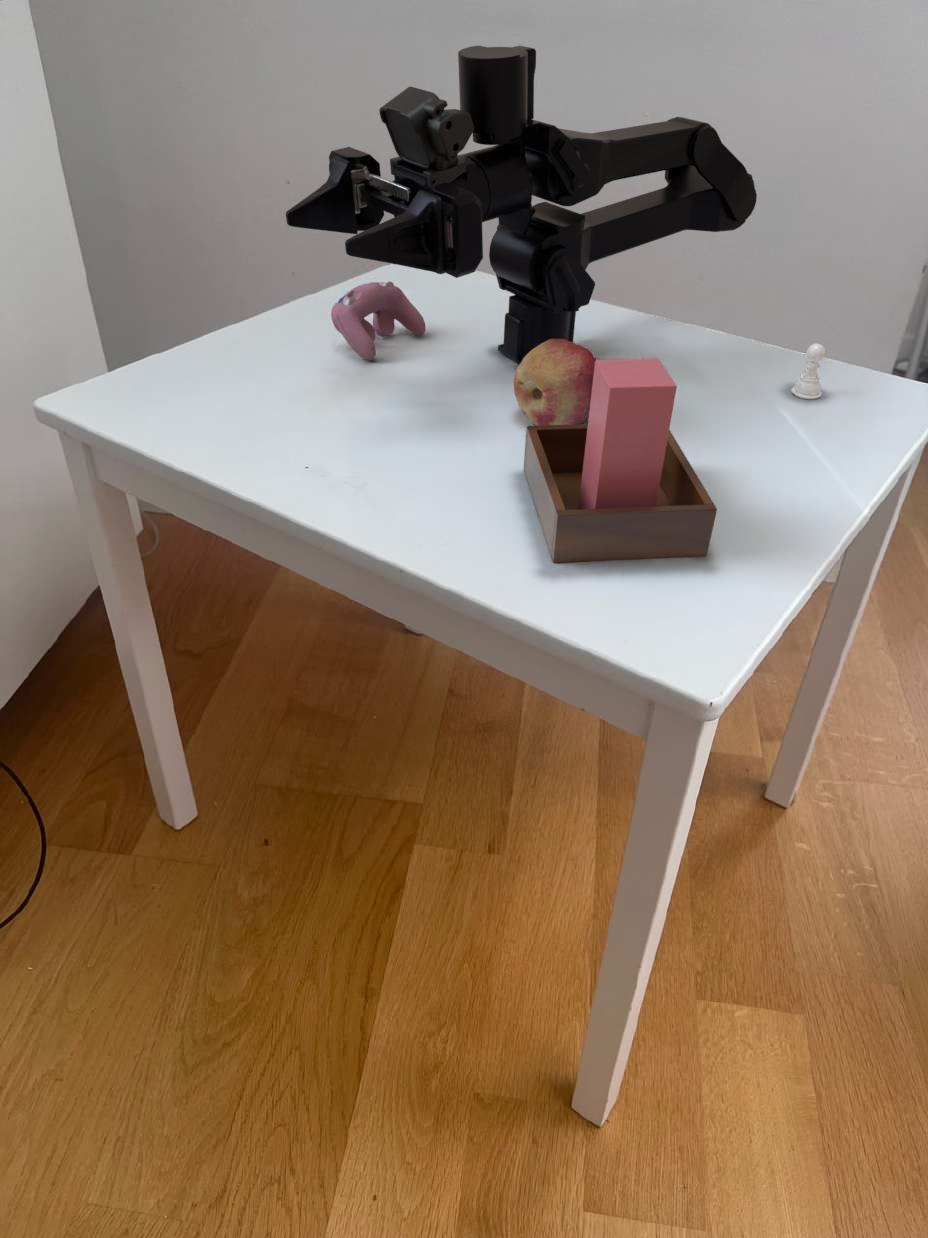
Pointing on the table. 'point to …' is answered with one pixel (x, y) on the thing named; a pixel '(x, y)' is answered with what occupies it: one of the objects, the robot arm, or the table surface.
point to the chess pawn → (810, 374)
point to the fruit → (555, 383)
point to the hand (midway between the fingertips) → (315, 233)
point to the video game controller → (374, 315)
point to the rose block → (626, 433)
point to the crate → (613, 531)
